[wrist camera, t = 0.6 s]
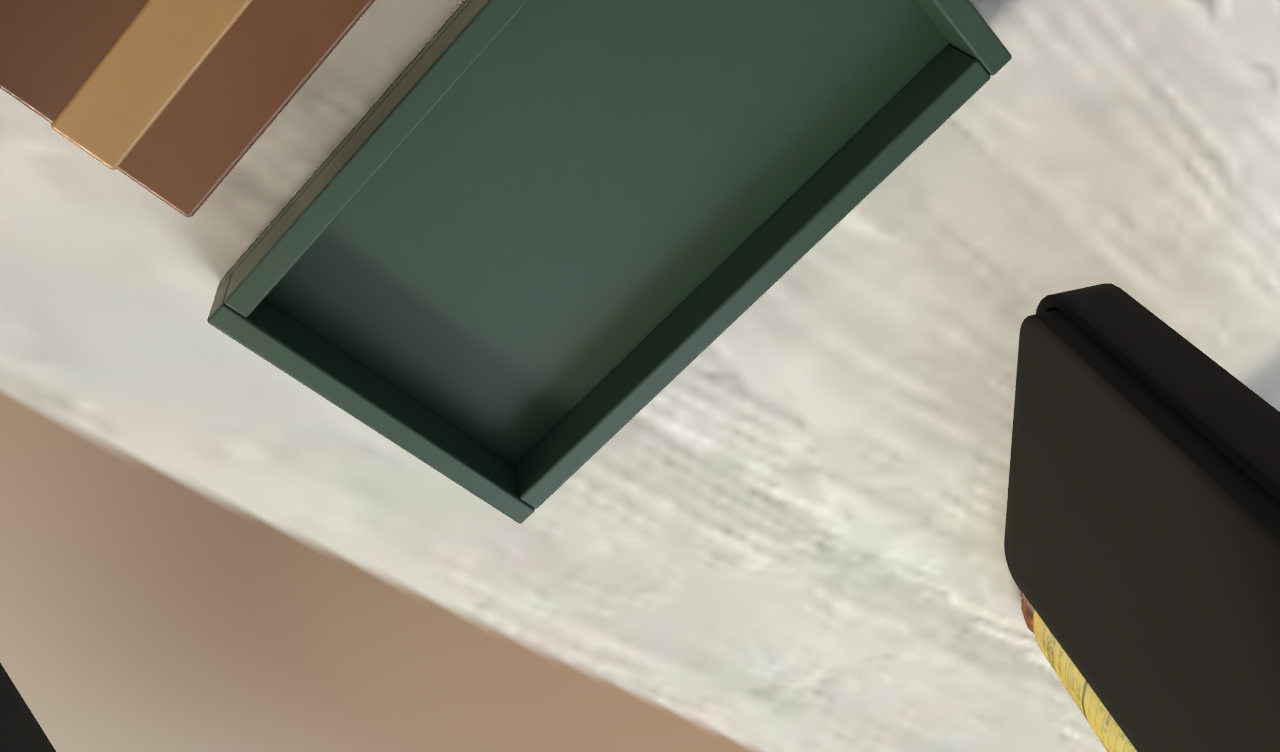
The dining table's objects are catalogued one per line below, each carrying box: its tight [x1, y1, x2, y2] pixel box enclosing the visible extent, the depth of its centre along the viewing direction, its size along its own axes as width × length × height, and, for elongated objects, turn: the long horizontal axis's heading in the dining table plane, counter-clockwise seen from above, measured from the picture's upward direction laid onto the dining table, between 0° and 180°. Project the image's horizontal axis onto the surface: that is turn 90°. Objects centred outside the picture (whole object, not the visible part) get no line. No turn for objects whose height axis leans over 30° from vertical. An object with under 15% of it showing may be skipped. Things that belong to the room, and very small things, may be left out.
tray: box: [208, 0, 1012, 524], centre depth 25 cm, size 16×9×2 cm, turn 134°
